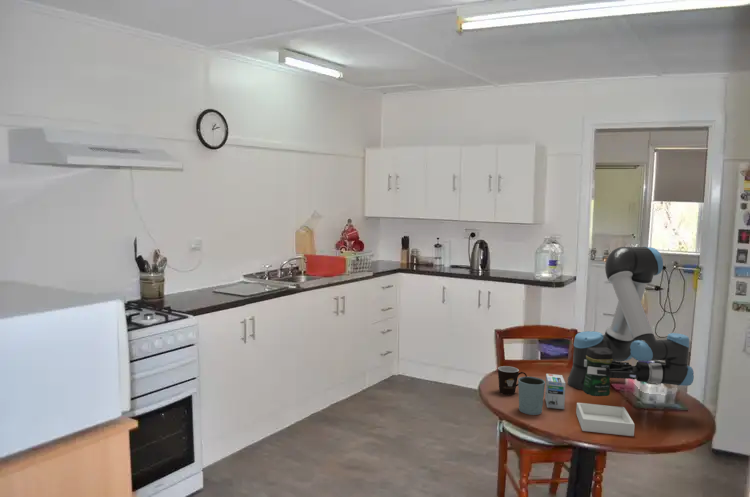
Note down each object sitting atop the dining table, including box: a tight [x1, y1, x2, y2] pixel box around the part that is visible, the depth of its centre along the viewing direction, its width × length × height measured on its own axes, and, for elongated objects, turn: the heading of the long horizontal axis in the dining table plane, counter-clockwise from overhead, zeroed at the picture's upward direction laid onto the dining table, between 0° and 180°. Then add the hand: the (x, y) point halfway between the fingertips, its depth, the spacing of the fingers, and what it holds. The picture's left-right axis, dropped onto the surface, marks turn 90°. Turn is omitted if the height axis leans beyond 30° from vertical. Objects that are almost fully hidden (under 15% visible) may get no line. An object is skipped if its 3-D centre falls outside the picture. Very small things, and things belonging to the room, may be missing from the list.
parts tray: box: [575, 402, 636, 437], centre depth 211 cm, size 17×17×4 cm
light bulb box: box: [544, 373, 566, 410], centre depth 231 cm, size 11×7×11 cm, turn 168°
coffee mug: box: [497, 365, 528, 396], centre depth 242 cm, size 12×9×10 cm
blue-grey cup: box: [517, 376, 546, 416], centre depth 223 cm, size 10×10×12 cm
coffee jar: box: [583, 347, 613, 397], centre depth 227 cm, size 10×8×19 cm
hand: (586, 366), depth 228 cm, fingers closed on coffee jar, 8 cm apart
